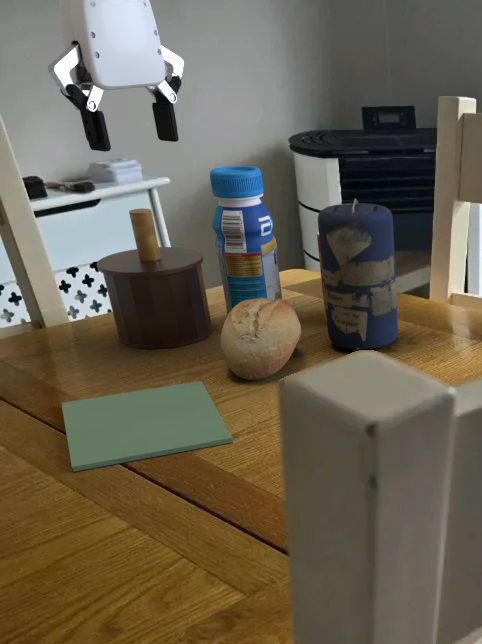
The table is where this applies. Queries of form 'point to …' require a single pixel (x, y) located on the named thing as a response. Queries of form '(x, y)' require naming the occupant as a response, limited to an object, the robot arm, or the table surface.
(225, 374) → the table surface
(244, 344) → the bread roll
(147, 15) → the robot arm
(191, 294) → the basket
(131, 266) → the lid
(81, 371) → the table surface
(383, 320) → the blue pillar candle
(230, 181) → the beverage bottle
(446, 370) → the table surface
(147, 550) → the table surface
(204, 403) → the mat
